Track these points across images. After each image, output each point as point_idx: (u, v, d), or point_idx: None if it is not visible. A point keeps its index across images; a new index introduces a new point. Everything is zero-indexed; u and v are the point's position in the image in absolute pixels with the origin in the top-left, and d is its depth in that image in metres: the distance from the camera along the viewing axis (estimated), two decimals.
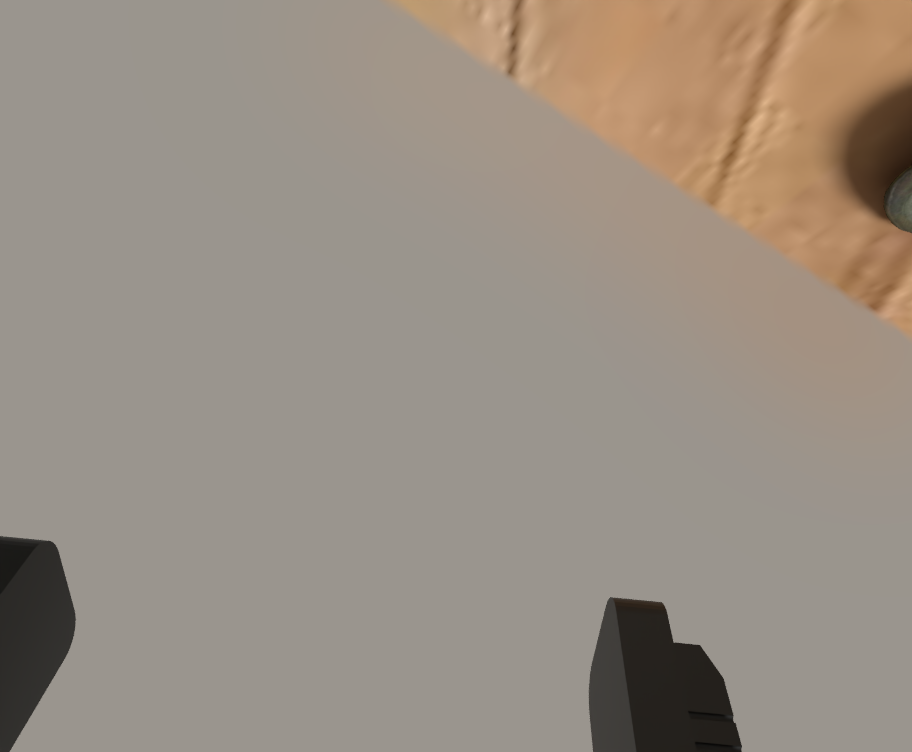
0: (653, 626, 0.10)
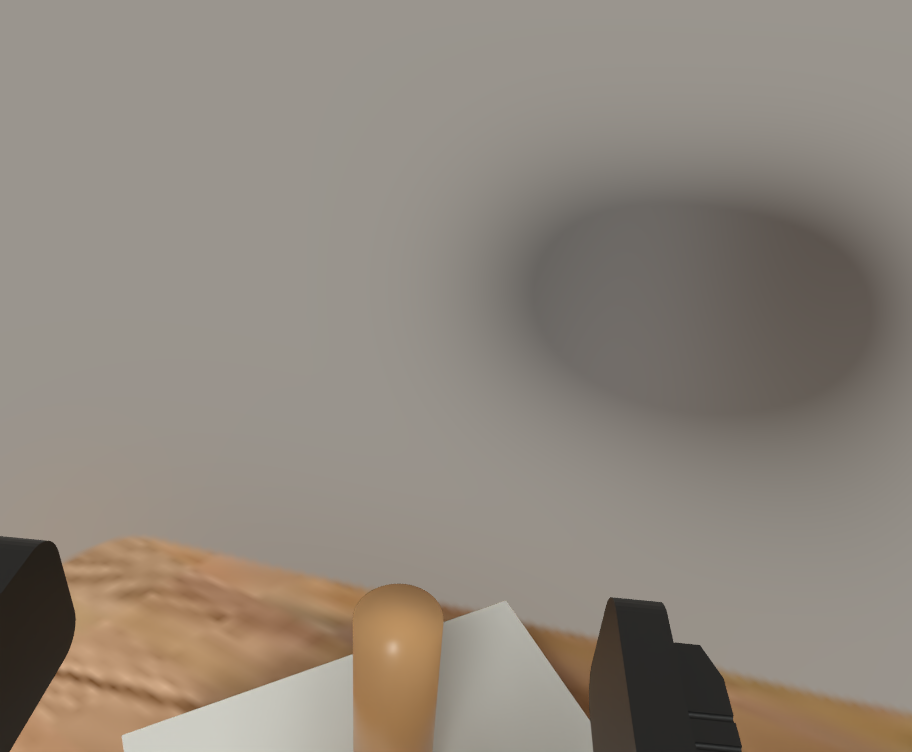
0: (653, 626, 0.10)
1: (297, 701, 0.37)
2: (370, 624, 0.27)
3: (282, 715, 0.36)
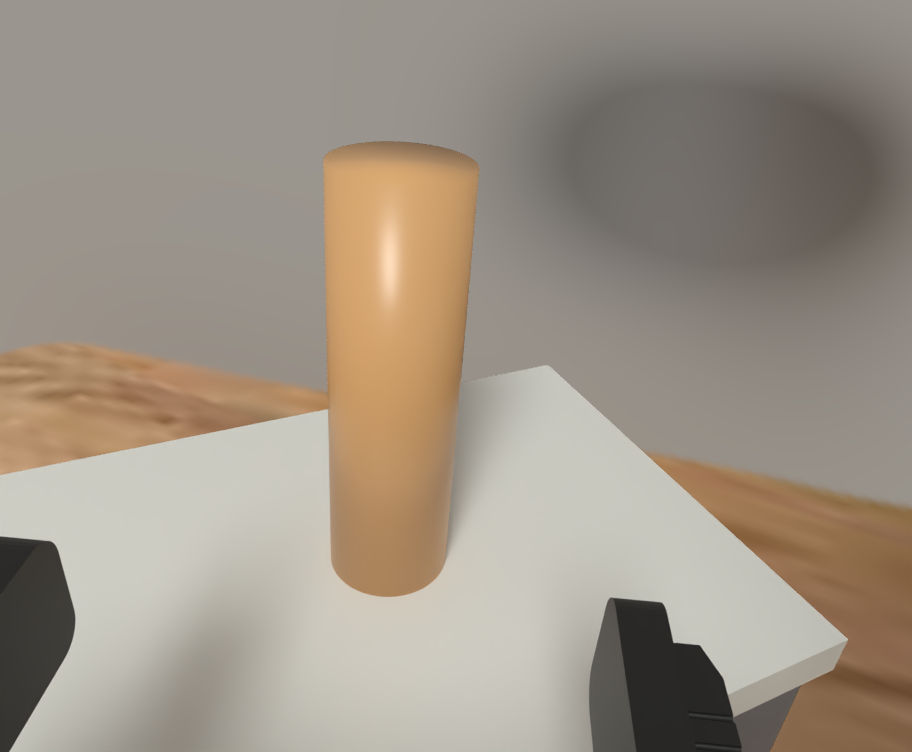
0: (653, 626, 0.10)
1: (253, 451, 0.25)
2: (354, 163, 0.16)
3: (229, 464, 0.25)
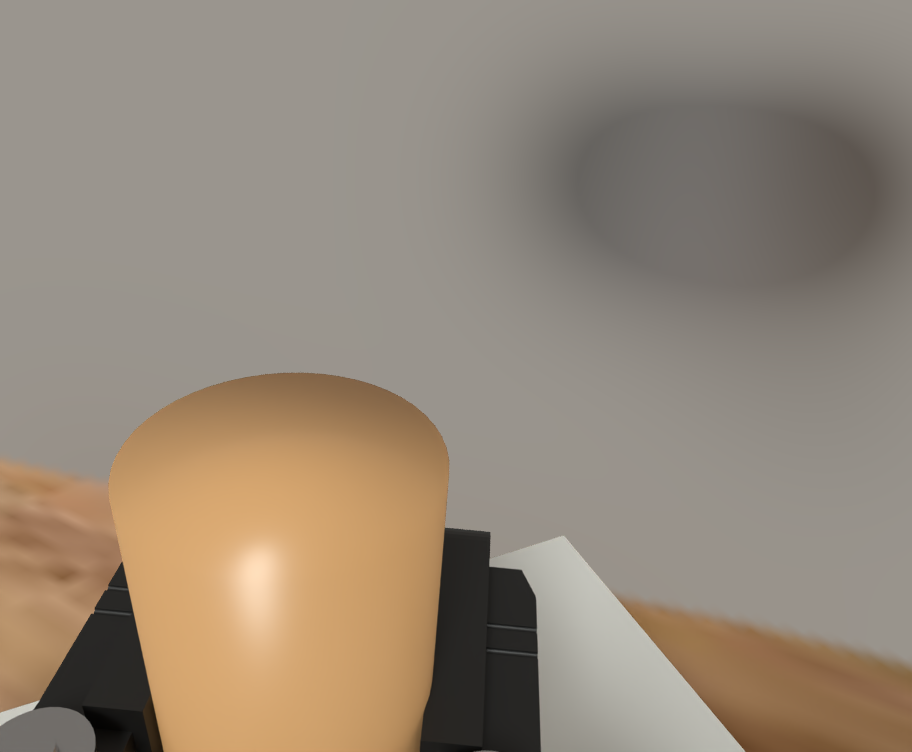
0: (475, 551, 0.11)
1: None
2: (178, 475, 0.07)
3: None
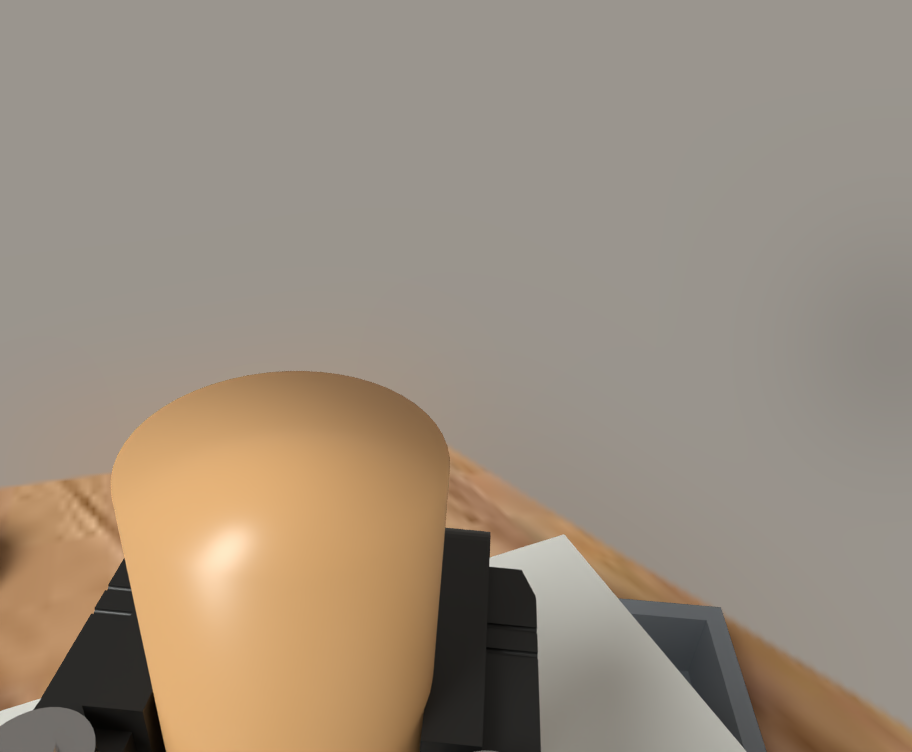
0: (474, 551, 0.11)
1: None
2: (181, 472, 0.07)
3: None
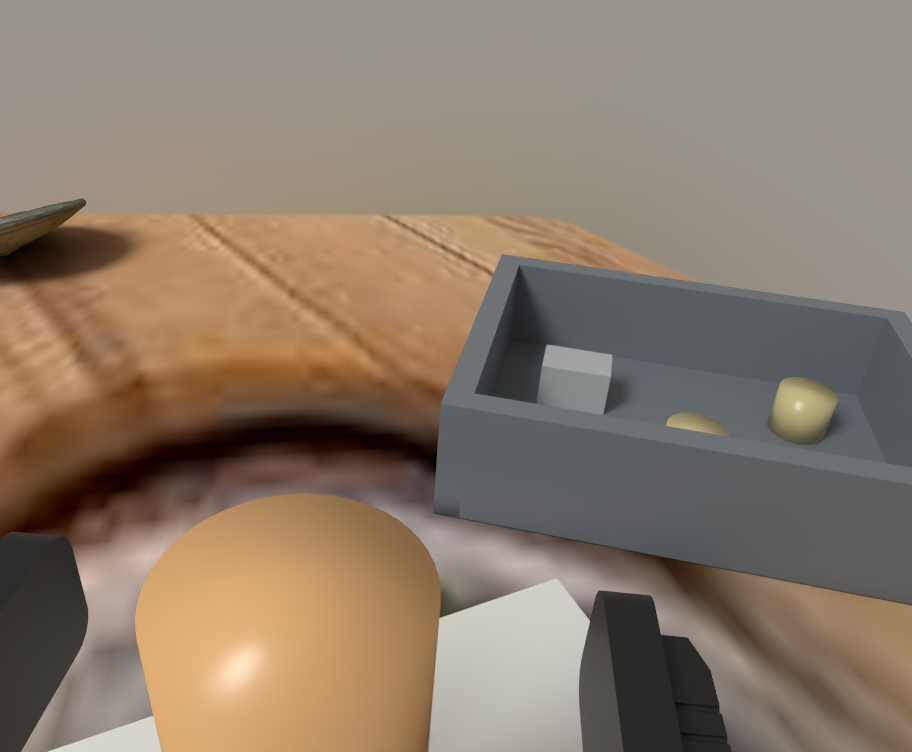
0: (640, 619, 0.10)
1: None
2: (197, 610, 0.08)
3: None
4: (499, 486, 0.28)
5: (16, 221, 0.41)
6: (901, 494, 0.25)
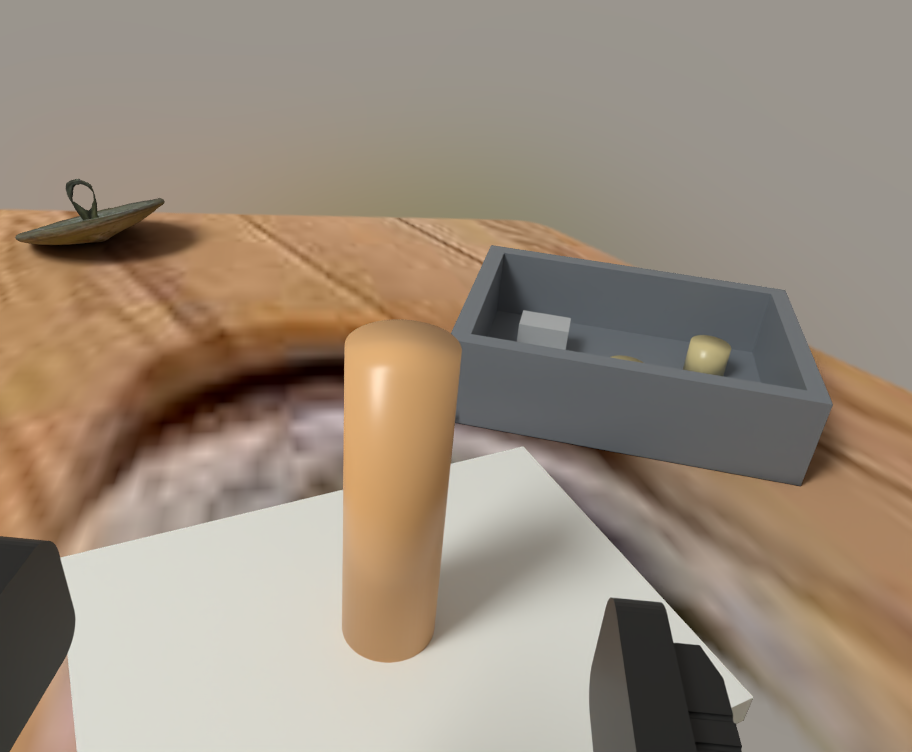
0: (653, 626, 0.10)
1: (275, 531, 0.30)
2: (368, 349, 0.21)
3: (256, 544, 0.30)
4: (487, 399, 0.41)
5: (119, 214, 0.54)
6: (751, 398, 0.38)
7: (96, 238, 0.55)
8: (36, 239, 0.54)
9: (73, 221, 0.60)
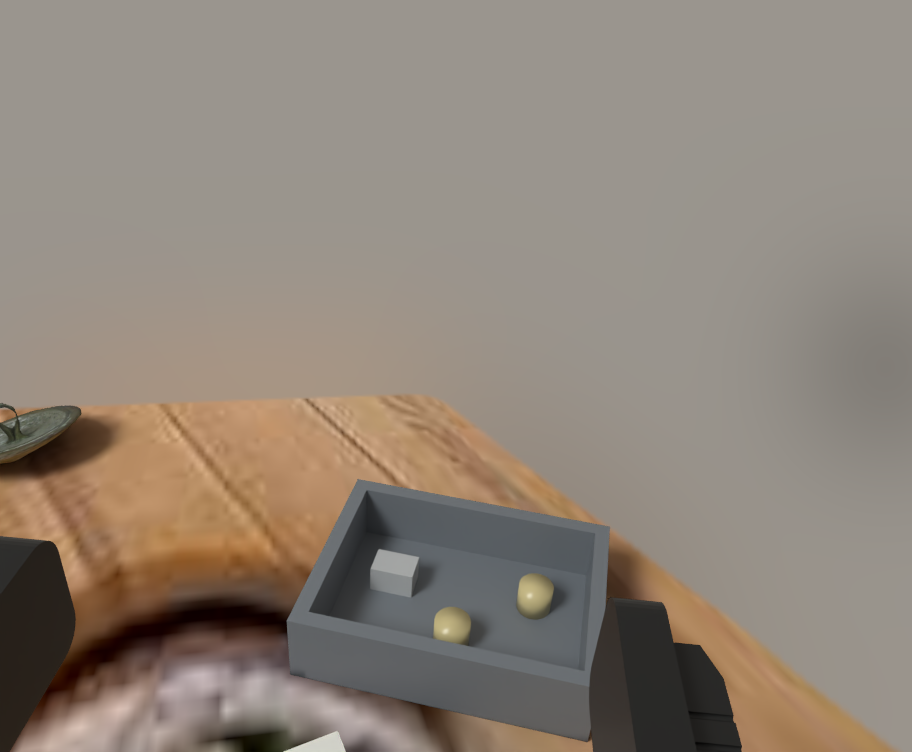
0: (653, 626, 0.10)
1: None
2: None
3: None
4: (325, 663, 0.48)
5: (35, 442, 0.62)
6: (536, 680, 0.45)
7: (17, 459, 0.63)
8: None
9: None
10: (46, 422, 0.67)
